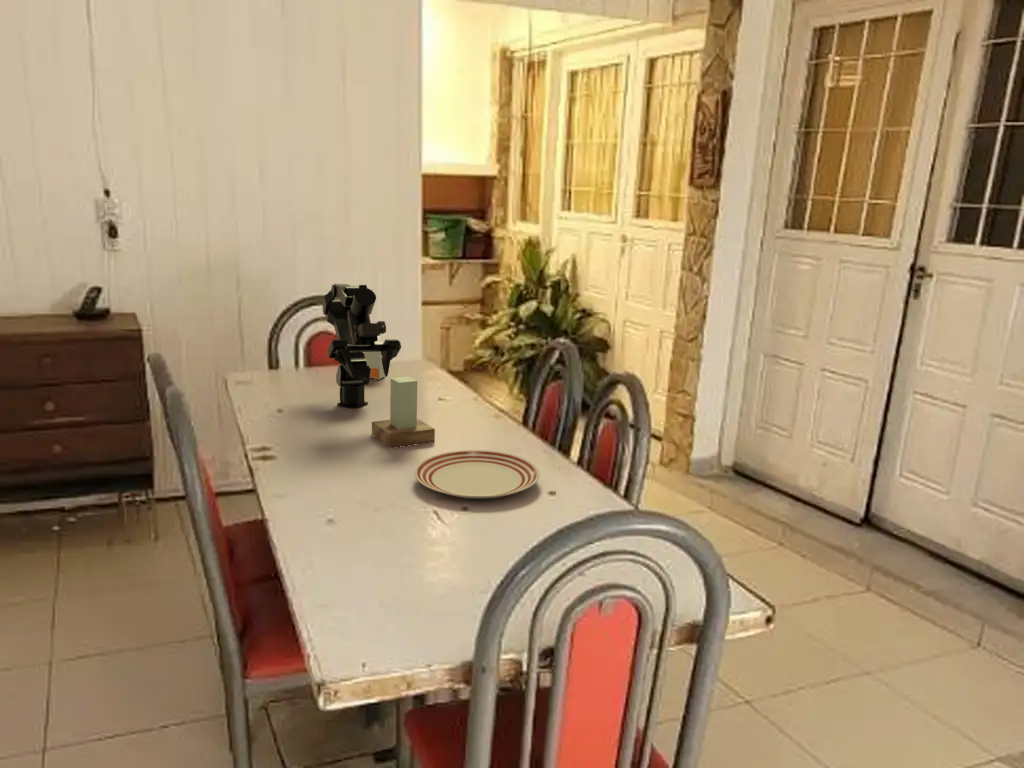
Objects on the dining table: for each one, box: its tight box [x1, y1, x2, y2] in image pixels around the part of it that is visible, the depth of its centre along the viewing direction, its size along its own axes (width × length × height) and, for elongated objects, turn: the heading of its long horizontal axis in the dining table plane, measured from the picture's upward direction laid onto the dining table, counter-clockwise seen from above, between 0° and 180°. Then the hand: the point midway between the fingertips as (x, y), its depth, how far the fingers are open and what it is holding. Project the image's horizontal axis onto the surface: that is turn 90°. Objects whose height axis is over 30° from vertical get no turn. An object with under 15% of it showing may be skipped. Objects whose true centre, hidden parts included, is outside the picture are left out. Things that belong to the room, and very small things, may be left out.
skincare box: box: [363, 340, 386, 380], centre depth 269 cm, size 6×4×12 cm
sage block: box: [389, 375, 418, 429], centre depth 207 cm, size 5×5×12 cm
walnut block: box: [371, 417, 436, 449], centre depth 208 cm, size 12×12×4 cm
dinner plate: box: [413, 449, 541, 500], centre depth 180 cm, size 27×27×3 cm
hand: (370, 376), depth 216 cm, fingers open, 9 cm apart
